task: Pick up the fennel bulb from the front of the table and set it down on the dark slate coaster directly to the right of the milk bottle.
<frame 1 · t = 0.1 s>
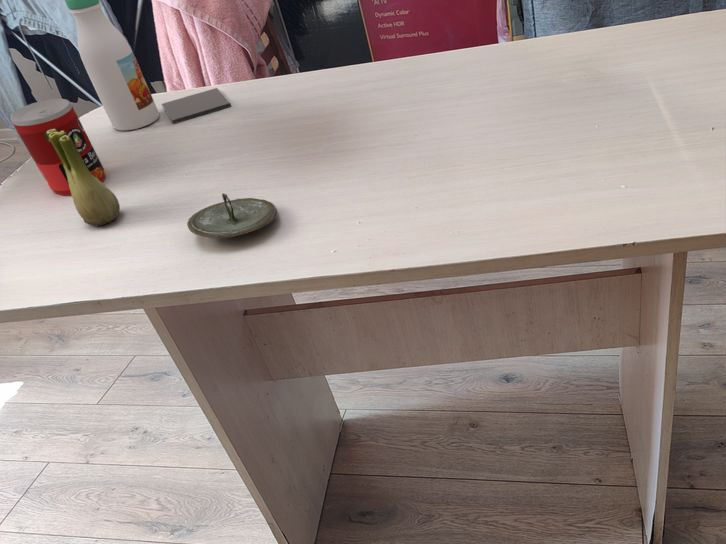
canned food: (80, 184, 98), on the table
milk bottle: (137, 123, 115), on the table
fennel bulb: (106, 220, 88), on the table
lid: (238, 230, 82), on the table
coaster: (196, 106, 117), on the table
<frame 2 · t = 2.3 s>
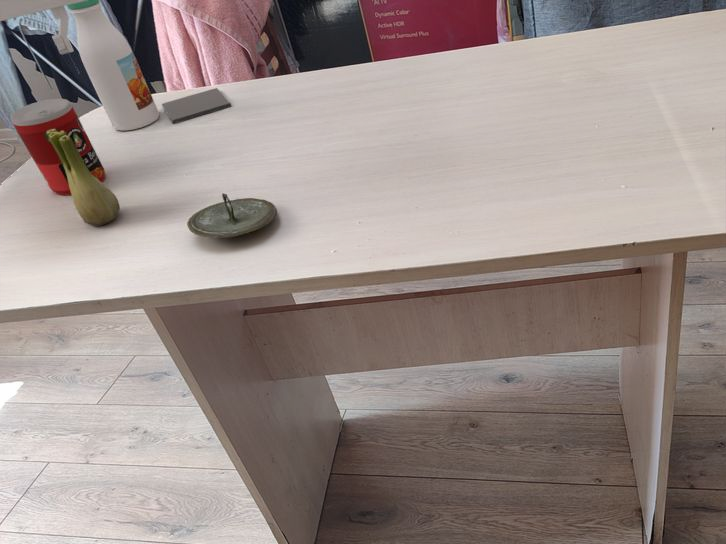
hand: (23, 63, 75), 20 cm above the table, tool pointing down, fingers open, 8 cm apart
nothing on the table moved.
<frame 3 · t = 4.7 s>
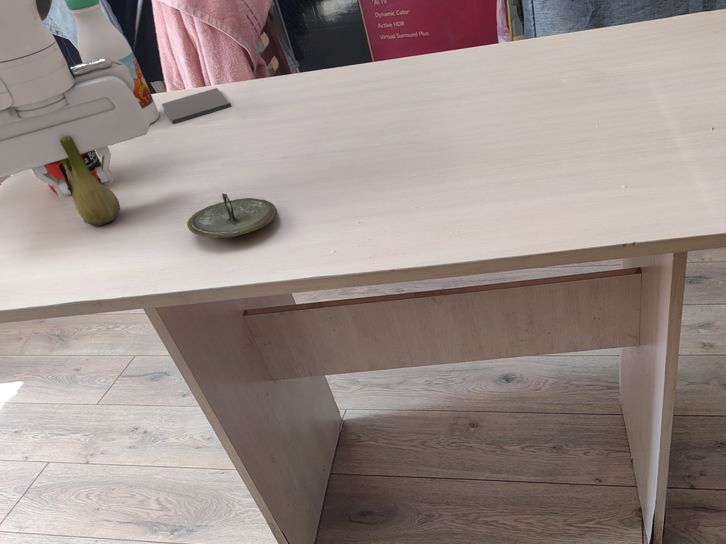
hand: (86, 188, 85), 5 cm above the table, tool pointing down, fingers closed on fennel bulb, 4 cm apart
fennel bulb: (106, 220, 88), on the table, touching gripper
everything else where it was.
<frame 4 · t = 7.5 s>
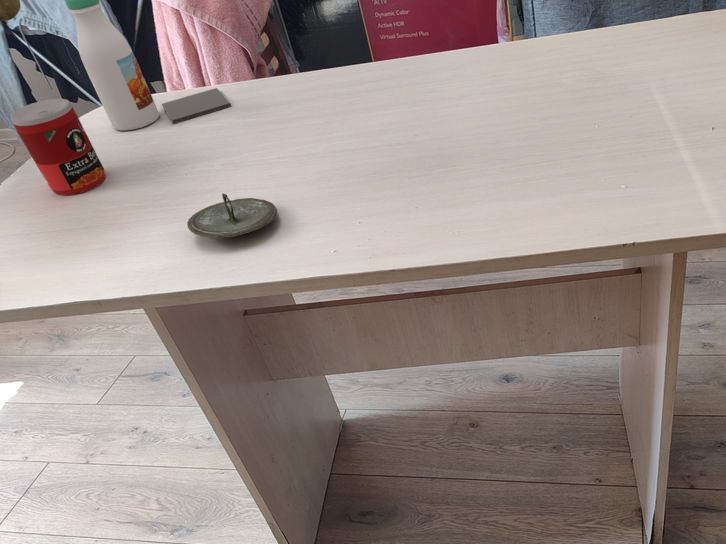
fennel bulb: (3, 21, 73), point 24 cm above the table, touching gripper
everything else where it was.
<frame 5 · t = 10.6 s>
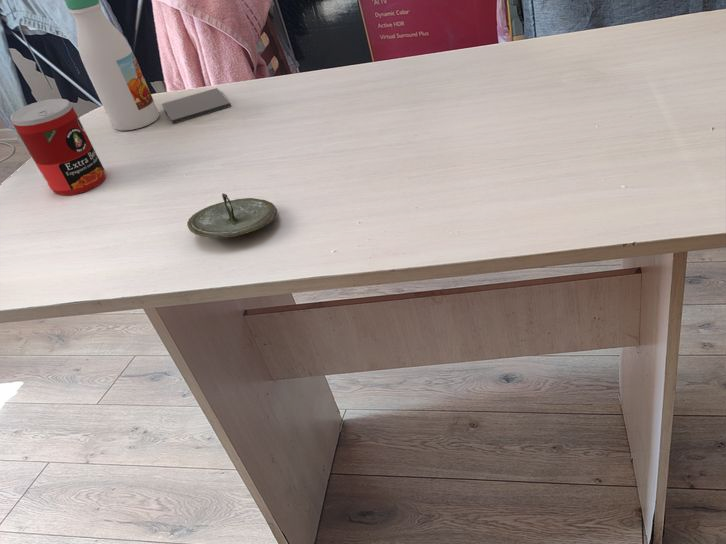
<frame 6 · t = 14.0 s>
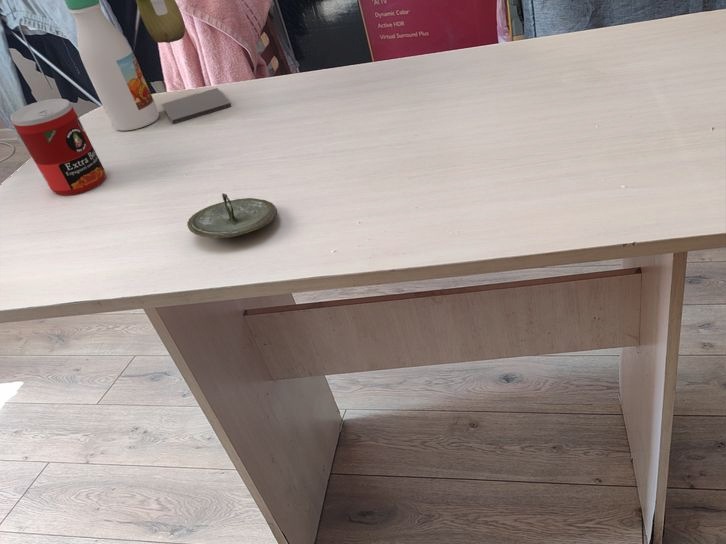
hand: (159, 11, 107), 15 cm above the table, tool pointing down, fingers closed on fennel bulb, 4 cm apart
fennel bulb: (172, 42, 110), point 11 cm above the table, touching gripper
everything else where it was.
when the fingers open (5 cm above the table, at t = 16.6 s): fennel bulb stays where it is, resting on coaster.
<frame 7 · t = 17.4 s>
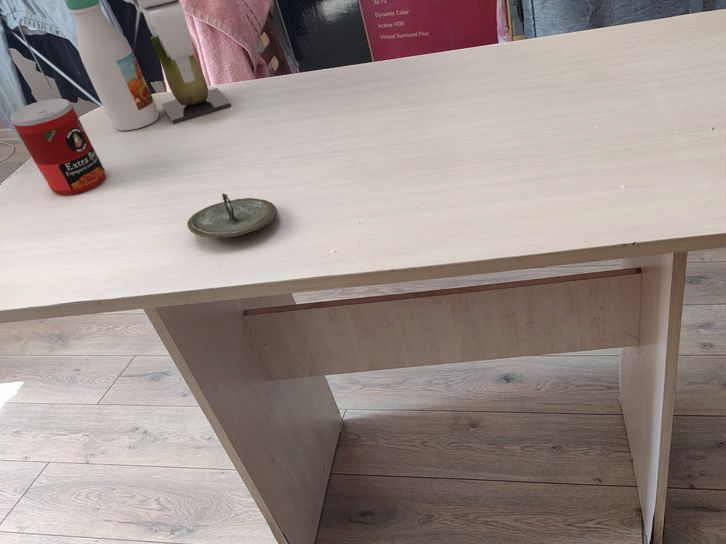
hand: (183, 73, 113), 6 cm above the table, tool pointing down, fingers open, 8 cm apart
fennel bulb: (195, 103, 117), resting on coaster
everything else where it was.
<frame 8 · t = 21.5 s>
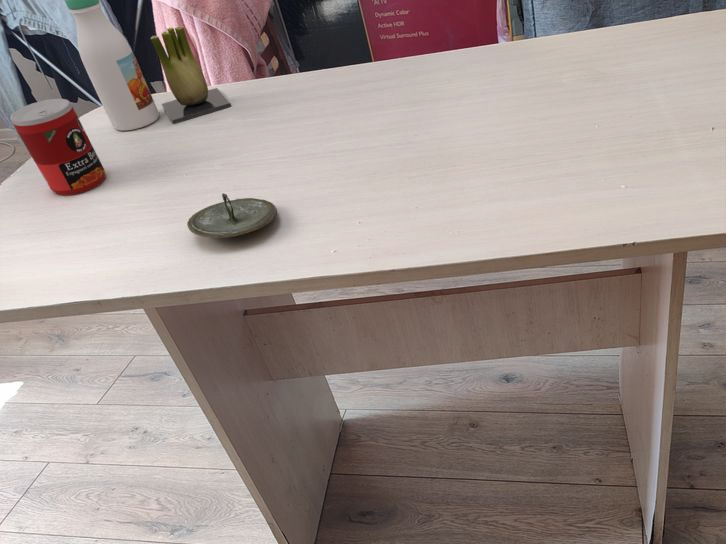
nothing on the table moved.
at the end: fennel bulb inside the target area on the table beside the milk bottle (0.5 cm from its centre), point 0.6 cm above the table; fennel bulb tilted 0°; milk bottle moved 0.2 cm from its start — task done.
